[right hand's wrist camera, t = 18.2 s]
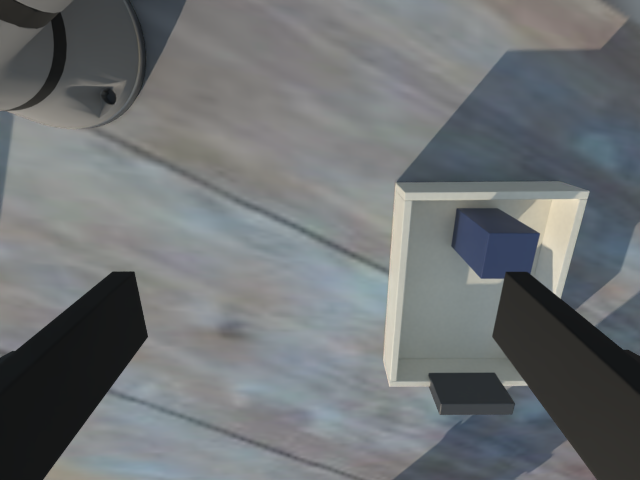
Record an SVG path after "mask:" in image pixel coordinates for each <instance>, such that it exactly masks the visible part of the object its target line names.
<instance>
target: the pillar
mask: <svg viewBox="0 0 640 480" xmlns="http://www.w3.org/2000/svg"><path fill="white" fill-rule="evenodd" d="M539 236H540V233H539V232H537V231H535V230H534V229H532V228H530V227H529V226H527V225H525V224H524V223H522V222H520V221H519V220H517V219H515V218H513V217H512V216H510V215H508V214H507V213H505V212H503V211H502V210H500V209H498V208H457V210H456V217H455V224H454V230H453V237H452V244H451V247H452V248H453V249H454V250H455V251H456V252H457V253H458V254H459V255H460V256H461V258H462V259H463V260H464V261H465V262H466V263H467V264H468V265H469V266H470V267H471V268H472V270H473V271H474V272H475V273H476V274H477V275H478V276H479V277H480V278H481V279H504V277H505V272H528V273H530V274H531V270H532V266H533V262H534V257H535V253H536V249H537V245H538V241H539Z"/></svg>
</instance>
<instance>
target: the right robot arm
mask: <svg viewBox="0 0 640 480" xmlns="http://www.w3.org/2000/svg"><path fill="white" fill-rule="evenodd" d="M145 65H146V52H145V43H144V38H143V33H142V30H141V26H140V23H139V21H138V18H137V15H136V13H135V11H134V9H133V7H132V5H131V3H130V1H129V0H0V111H7V112H10V113H13V114H15V115H18V116H21V117H24V118H26V119H29V120H32V121H35V122H37V123H40V124H43V125H47V126H51V127H57V128H65V129H85V128H93V127H98V126H102V125H105V124H107V123H110V122H112V121H113V120H115V119H117V118H118V117H120V116H121V115H122V114H123V113H124V112H126V111H127V110H128V108H129V107H130V106H131V105H132V103H133V102H134V100H135V99H136V97H137V95H138V93H139V91H140V88H141V86H142V82H143V79H144V73H145ZM147 337H148V335H147V330H146V325H145V320H144V315H143V311H142V306H141V301H140V296H139V292H138V287H137V282H136V277H135V272H112V273H110V274H109V275H108V276H107V277H106V278H104V279H103V280H102V281H101V282H99V283H98V284H97V285H96V286H94V287H93V288H92V289H91V290H90V291H88V292H87V293H86V294H85V295H83V296H82V297H81V298H80V299H79V300H77V301H76V302H75V303H74V304H72V305H71V306H70V307H69V308H68V309H66V310H65V311H64V312H63V313H61V314H60V315H59V316H58V317H56V318H55V319H54V320H53V321H52V322H50V323H49V324H48V325H47V326H45V327H44V328H43V329H42V330H41V331H39V332H38V333H37V334H36V335H34V336H33V337H32V338H31V339H30V340H28V341H27V342H26V343H25V344H23V345H22V346H21V347H20V348H18V349H17V350H16V351H12V352H10V353H8V354H6V355H4V356H2V357H1V358H0V480H43V479H44V478H45V476H46V475H47V474H48V472H49V471H50V469H51V468H52V467H53V465H54V464H55V463H56V461H57V460H58V459H59V457H60V456H61V454H62V453H63V452H64V450H65V449H66V448H67V446H68V445H69V444H70V442H71V441H72V439H73V438H74V437H75V435H76V434H77V433H78V431H79V430H80V429H81V427H82V426H83V425H84V423H85V422H86V420H87V419H88V418H89V416H90V415H91V414H92V412H93V411H94V410H95V408H96V407H97V405H98V404H99V403H100V401H101V400H102V399H103V397H104V396H105V395H106V393H107V392H108V390H109V389H110V388H111V386H112V385H113V384H114V382H115V381H116V380H117V378H118V377H119V375H120V374H121V373H122V371H123V370H124V369H125V367H126V366H127V365H128V363H129V362H130V361H131V359H132V358H133V356H134V355H135V354H136V352H137V351H138V350H139V348H140V347H141V346H142V344H143V343H144V341H145V340H146V339H147ZM492 337H493V339H494V340H495V341H496V343H497V344H498V346H499V347H500V348H501V350H502V351H503V352H504V354H505V355H506V356H507V358H508V359H509V361H510V362H511V363H512V365H513V366H514V367H515V369H516V370H517V371H518V373H519V374H520V375H521V377H522V378H523V380H524V381H525V382H526V384H527V385H528V386H529V388H530V389H531V390H532V392H533V393H534V395H535V396H536V397H537V399H538V400H539V401H540V403H541V404H542V405H543V407H544V408H545V410H546V411H547V412H548V414H549V415H550V416H551V418H552V419H553V420H554V422H555V423H556V425H557V426H558V427H559V429H560V430H561V431H562V433H563V434H564V435H565V437H566V438H567V439H568V441H569V442H570V444H571V445H572V446H573V448H574V449H575V450H576V452H577V453H578V454H579V456H580V457H581V459H582V460H583V461H584V463H585V464H586V465H587V467H588V468H589V469H590V471H591V472H592V474H593V475H594V476H595V478H596V479H597V480H640V356H639V355H637V354H635V353H633V352H631V351H629V350H623V349H622V348H620V347H619V346H618V345H617V344H615V343H614V342H613V341H612V340H610V339H609V338H608V337H607V336H606V335H604V334H603V333H602V332H601V331H599V330H598V329H597V328H596V327H595V326H593V325H592V324H591V323H590V322H588V321H587V320H586V319H585V318H584V317H582V316H581V315H580V314H579V313H577V312H576V311H575V310H574V309H572V308H571V307H570V306H569V305H568V304H566V303H565V302H564V301H563V300H561V299H560V298H559V297H558V296H557V295H555V294H554V293H553V292H552V291H550V290H549V289H548V288H547V287H546V286H544V285H543V284H542V283H541V282H539V281H538V280H537V279H536V278H534V277H533V276H532V275H531V274H530V273H528V272H505V277H504V282H503V287H502V292H501V296H500V301H499V306H498V311H497V315H496V320H495V325H494V330H493V335H492Z"/></svg>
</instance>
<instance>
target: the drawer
mask: <svg viewBox="0 0 640 480" xmlns="http://www.w3.org/2000/svg"><path fill="white" fill-rule="evenodd" d="M589 192H590V191H588V190H585V189H582V188H579V187H576V186H573V185H570V184H566V183H563V182H560V181H525V182H396V184H395V199H394V213H393V227H392V242H391V256H390V271H389V285H388V299H387V314H386V328H385V343H384V357H383V362H384V366H385V370H386V374H387V378H388V382H389V386H429V388H430V391H431V394H432V396H433V399H434V401H435V404H436V407H437V409H438V412H439V414H440V415H493V414H512V413H513V409H514V405H515V403H514V401H513V400H512V398H511V397H510V395H509V394H508V392H507V391H506V389H505V387H504V386H528V385H527V384H526V382H525V381H524V380H523V378H522V377H521V375H520V374H519V373H518V371H517V370H516V369H515V367H514V366H513V365H512V363H511V362H510V361H509V359H508V358H507V356H506V355H505V354H504V352H503V351H502V350H501V348H500V347H499V346H498V344H497V343H496V341H495V340H494V339H493V337H492V335H493V330H494V325H495V320H496V315H497V311H498V306H499V301H500V296H501V292H502V287H503V282H504V279H481V278H480V277H479V276H478V275H477V274H476V273H475V272H474V271H473V270H472V268H471V267H470V266H469V265H468V264H467V263H466V262H465V261H464V260H463V259H462V258H461V256H460V255H459V254H458V253H457V252H456V251H455V250H454V249H453V248H452V247H451V244H452V237H453V230H454V224H455V217H456V210H457V208H498V209H500V210H502V211H503V212H505V213H507V214H508V215H510V216H512V217H513V218H515V219H517V220H519V221H520V222H522V223H524V224H525V225H527V226H529V227H530V228H532V229H534V230H535V231H537V232H539V233H540V236H539V241H538V245H537V249H536V253H535V257H534V262H533V266H532V270H531V275H532V276H533V277H534V278H536V279H537V280H538V281H539V282H541V283H542V284H543V285H544V286H546V287H547V288H548V289H549V290H550V291H552V292H553V293H554V294H555V295H557V296H558V297H559V298H560V299H561V296H562V292H563V288H564V285H565V281H566V277H567V273H568V270H569V266H570V262H571V259H572V255H573V251H574V248H575V244H576V240H577V236H578V233H579V229H580V225H581V222H582V218H583V214H584V210H585V207H586V203H587V199H588V196H589Z"/></svg>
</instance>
